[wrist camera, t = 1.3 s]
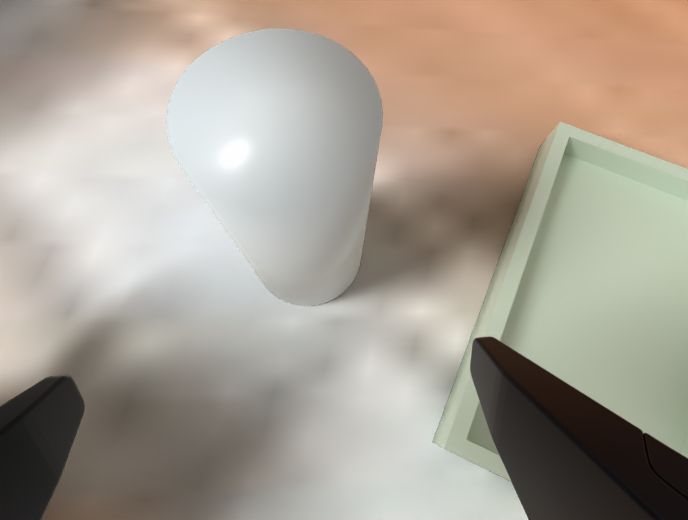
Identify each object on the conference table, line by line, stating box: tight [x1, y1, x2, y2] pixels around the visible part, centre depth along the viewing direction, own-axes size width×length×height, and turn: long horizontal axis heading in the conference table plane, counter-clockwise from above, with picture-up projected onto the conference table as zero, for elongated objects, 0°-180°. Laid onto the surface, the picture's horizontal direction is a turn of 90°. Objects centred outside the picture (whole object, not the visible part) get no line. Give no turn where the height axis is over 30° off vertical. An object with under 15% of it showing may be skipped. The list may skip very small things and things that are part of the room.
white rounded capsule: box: [166, 28, 383, 306], centre depth 18 cm, size 6×6×13 cm
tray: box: [433, 122, 688, 481], centre depth 22 cm, size 20×12×2 cm, turn 155°
